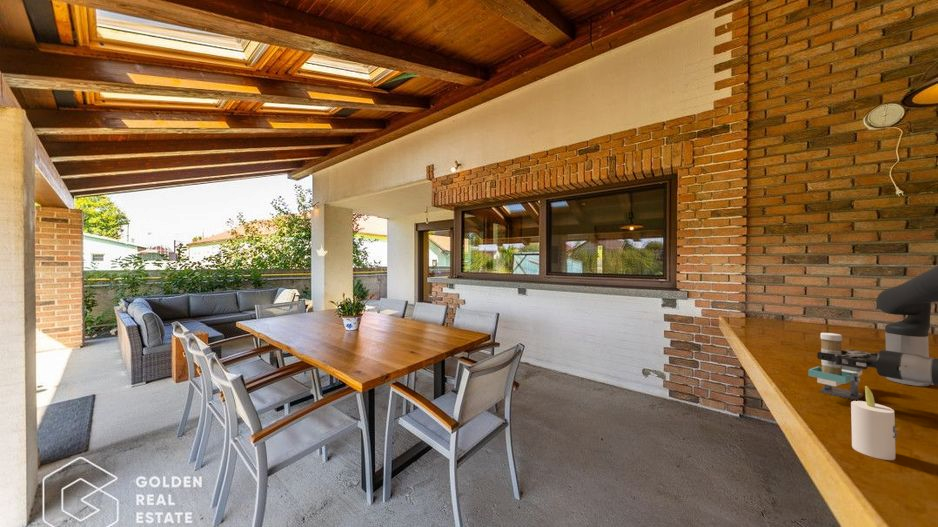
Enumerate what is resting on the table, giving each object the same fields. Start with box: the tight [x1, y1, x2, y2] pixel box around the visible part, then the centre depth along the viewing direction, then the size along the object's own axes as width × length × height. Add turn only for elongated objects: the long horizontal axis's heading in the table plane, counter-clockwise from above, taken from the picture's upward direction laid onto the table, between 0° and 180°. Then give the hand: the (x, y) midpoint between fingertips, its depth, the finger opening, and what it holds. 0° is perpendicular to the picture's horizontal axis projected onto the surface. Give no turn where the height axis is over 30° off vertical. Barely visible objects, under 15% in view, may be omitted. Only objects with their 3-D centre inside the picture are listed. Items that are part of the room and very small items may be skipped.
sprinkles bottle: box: [820, 332, 843, 376], centre depth 103 cm, size 5×5×14 cm
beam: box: [807, 359, 863, 388], centre depth 107 cm, size 26×8×6 cm, turn 118°
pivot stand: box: [819, 373, 864, 401], centre depth 107 cm, size 6×8×8 cm
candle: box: [850, 385, 898, 461], centre depth 75 cm, size 6×6×15 cm
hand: (822, 353), depth 105 cm, fingers open, 8 cm apart
